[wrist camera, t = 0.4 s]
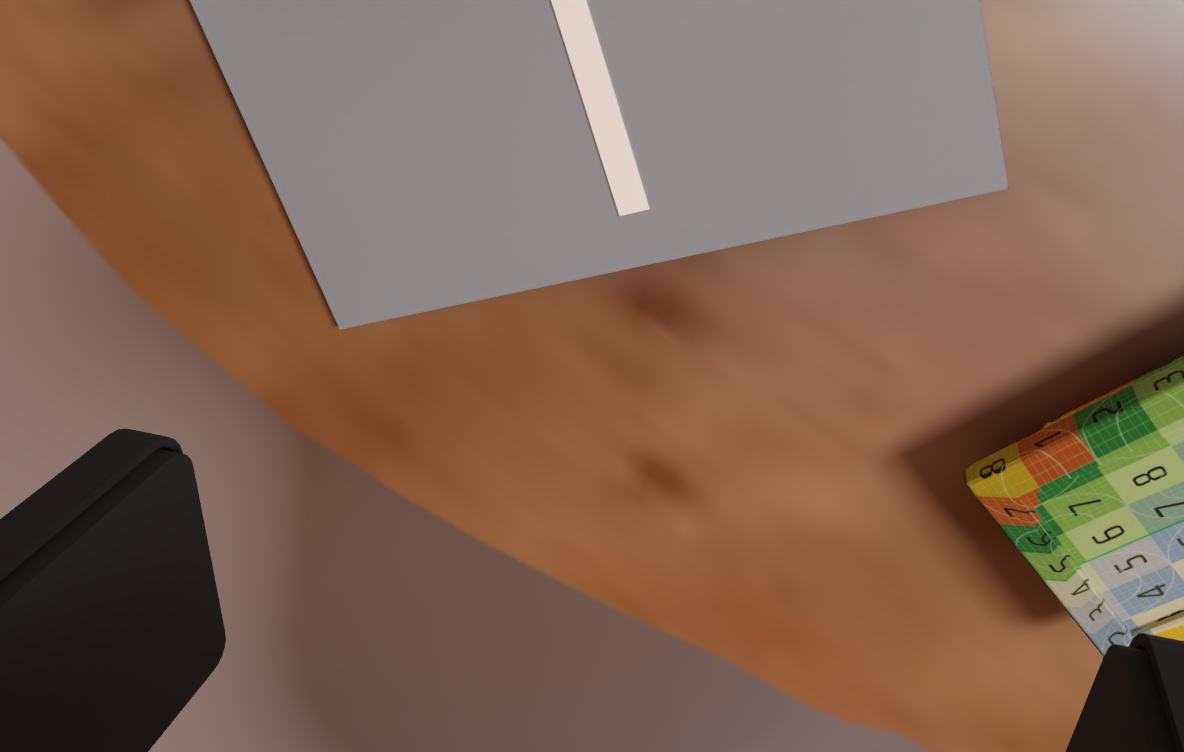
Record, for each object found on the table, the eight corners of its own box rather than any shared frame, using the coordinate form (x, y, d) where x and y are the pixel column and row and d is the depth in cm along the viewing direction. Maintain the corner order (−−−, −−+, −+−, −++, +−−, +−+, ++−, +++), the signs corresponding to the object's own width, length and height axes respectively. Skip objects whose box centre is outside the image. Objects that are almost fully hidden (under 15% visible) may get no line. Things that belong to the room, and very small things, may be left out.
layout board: (117, -179, 42) (11, -179, 37) (893, -559, 31) (890, -633, 25) (345, 324, 52) (284, 379, 47) (1006, 183, 40) (1021, 237, 35)
